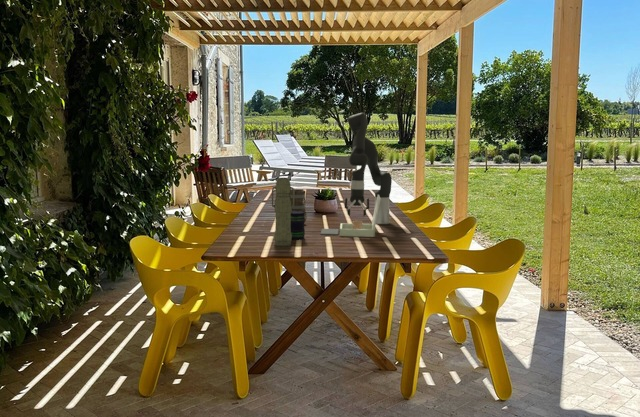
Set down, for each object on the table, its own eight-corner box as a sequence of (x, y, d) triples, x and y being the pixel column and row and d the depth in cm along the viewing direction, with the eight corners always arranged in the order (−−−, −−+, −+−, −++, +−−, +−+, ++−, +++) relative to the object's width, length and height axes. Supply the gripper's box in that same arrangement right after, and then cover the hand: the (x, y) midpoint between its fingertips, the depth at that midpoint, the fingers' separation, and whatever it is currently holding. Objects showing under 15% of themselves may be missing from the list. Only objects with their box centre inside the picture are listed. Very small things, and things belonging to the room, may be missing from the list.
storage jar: (300, 241, 312) (300, 213, 310) (284, 239, 316) (284, 212, 314) (307, 237, 322) (307, 211, 320) (291, 236, 325) (291, 210, 323)
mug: (304, 212, 416) (305, 191, 414) (286, 212, 417) (286, 191, 414) (306, 208, 436) (306, 188, 434) (288, 208, 436) (288, 188, 434)
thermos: (295, 246, 299) (295, 178, 294) (272, 246, 297) (272, 178, 292) (293, 242, 307) (294, 177, 302) (271, 243, 306) (271, 177, 301)
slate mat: (338, 230, 346) (338, 229, 346) (338, 235, 330) (338, 233, 330) (322, 229, 347) (322, 228, 347) (320, 234, 331) (320, 233, 331)
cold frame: (378, 230, 347) (379, 194, 344) (379, 236, 327) (380, 198, 324) (340, 229, 348) (341, 193, 345) (339, 235, 328) (340, 197, 325)
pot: (362, 232, 340) (362, 220, 339) (362, 234, 335) (362, 222, 334) (352, 232, 341) (352, 220, 340) (352, 234, 335) (352, 222, 334)
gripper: (369, 187, 337) (368, 215, 340) (345, 187, 338) (344, 214, 341) (370, 189, 330) (369, 217, 332) (345, 188, 331) (344, 216, 333)
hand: (356, 215), depth 336 cm, fingers open, 8 cm apart
